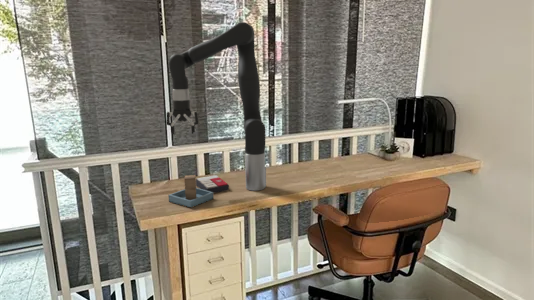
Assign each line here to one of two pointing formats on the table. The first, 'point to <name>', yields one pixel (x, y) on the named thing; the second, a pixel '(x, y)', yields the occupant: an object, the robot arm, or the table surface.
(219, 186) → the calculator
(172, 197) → the tray
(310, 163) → the table surface
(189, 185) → the walnut block
